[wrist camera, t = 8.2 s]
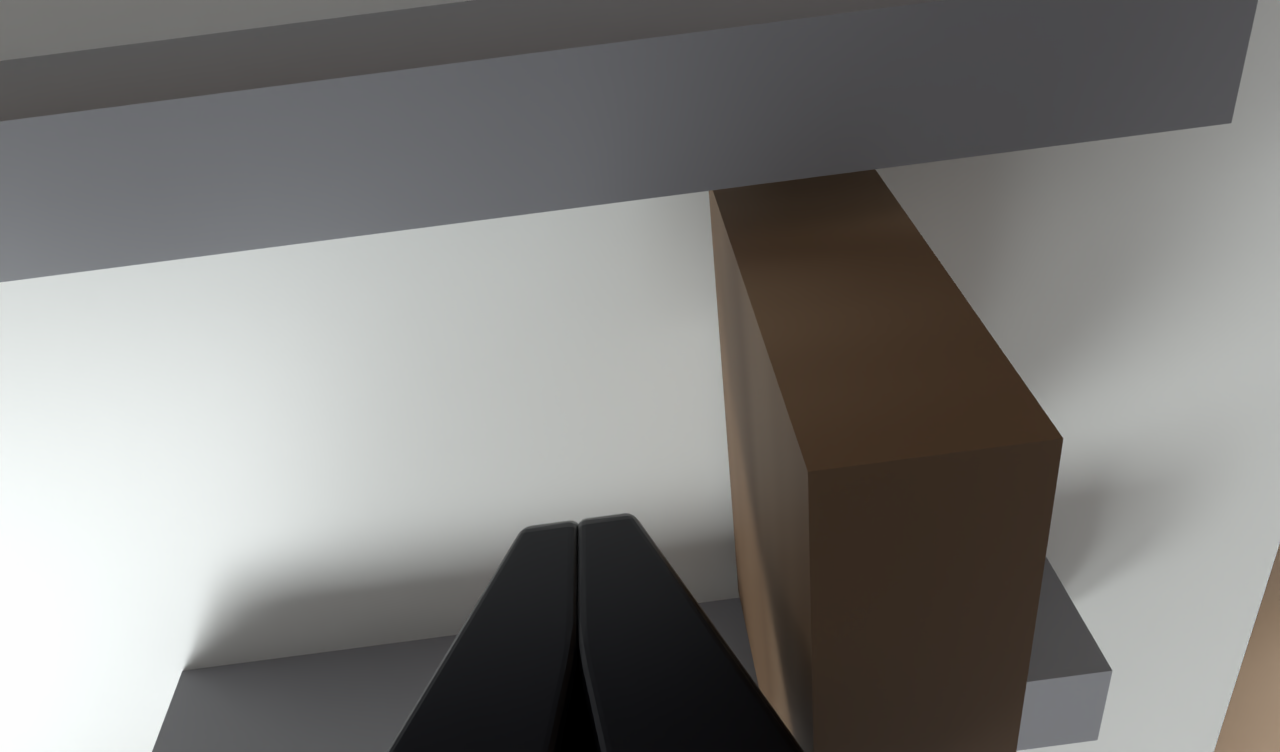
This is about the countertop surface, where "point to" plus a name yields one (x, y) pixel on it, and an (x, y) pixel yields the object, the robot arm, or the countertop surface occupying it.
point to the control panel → (587, 328)
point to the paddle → (875, 475)
